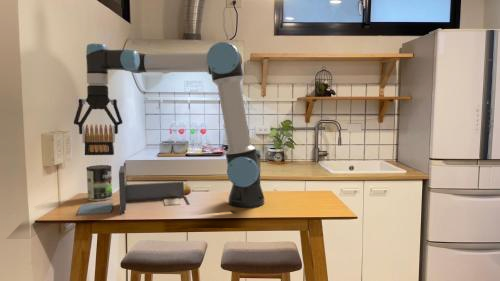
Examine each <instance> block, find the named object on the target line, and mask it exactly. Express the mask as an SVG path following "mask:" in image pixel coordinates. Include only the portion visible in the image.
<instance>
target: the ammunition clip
mask: <svg viewBox="0 0 500 281" xmlns="http://www.w3.org/2000/svg"><path fill="white" fill-rule="evenodd" d="M107 125H108V124H104V129H103V125H102V124H100V125H99V127H98V124H95V125H94V126H93V124H90V127H89V126H88V124H86V125H85V143H84V155H85V156H114V155H115V149H114V146H115V145H114V143H113V131H112V126H113V125H112V124H111V123H110V124H109V127H108V126H107ZM89 128H90V129H89Z"/></svg>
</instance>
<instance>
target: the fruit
mask: <svg viewBox="0 0 500 281" xmlns="http://www.w3.org/2000/svg"><path fill="white" fill-rule="evenodd" d="M183 185H184V196H187V195H190V194H191V190H192V189H191V187H190V186H189V184H187V183H185V182H183Z"/></svg>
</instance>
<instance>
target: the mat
mask: <svg viewBox="0 0 500 281" xmlns="http://www.w3.org/2000/svg"><path fill="white" fill-rule="evenodd" d="M113 205H114V202H99V203H87V204H85V203H83V204H81V205H80V207H79V209H78V211H77V213H76V216H86V215H87V216H88V215H100V214H111V213H112V211H113V210H112V209H113Z"/></svg>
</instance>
